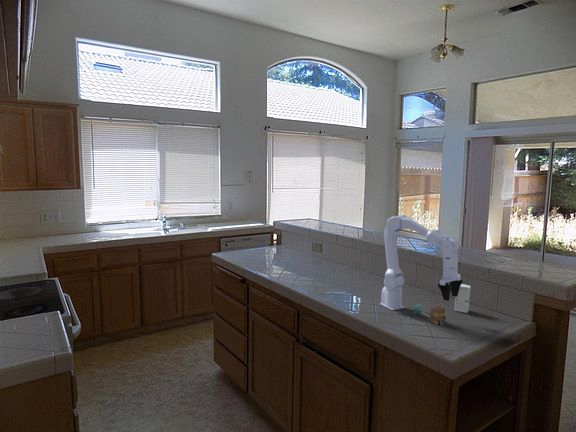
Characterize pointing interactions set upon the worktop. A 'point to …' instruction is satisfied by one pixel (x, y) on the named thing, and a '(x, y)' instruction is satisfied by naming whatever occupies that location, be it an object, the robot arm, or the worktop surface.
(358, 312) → the worktop surface
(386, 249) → the robot arm
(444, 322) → the rail
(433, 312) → the keeper
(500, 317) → the worktop surface
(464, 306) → the skincare box
